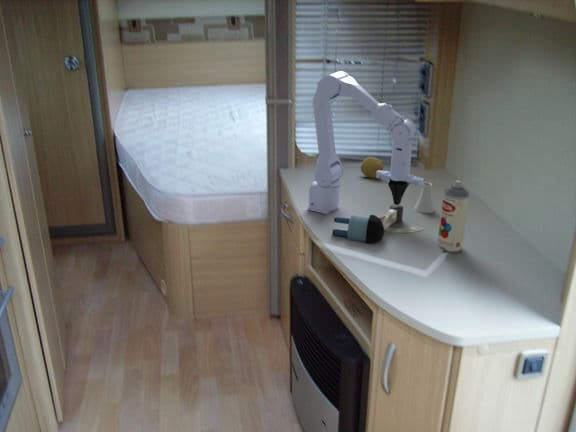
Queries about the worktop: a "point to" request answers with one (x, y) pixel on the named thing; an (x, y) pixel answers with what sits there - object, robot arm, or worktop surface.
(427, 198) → the flask
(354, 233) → the toy
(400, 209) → the peg
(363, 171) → the potato
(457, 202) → the aerosol can
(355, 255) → the worktop surface
